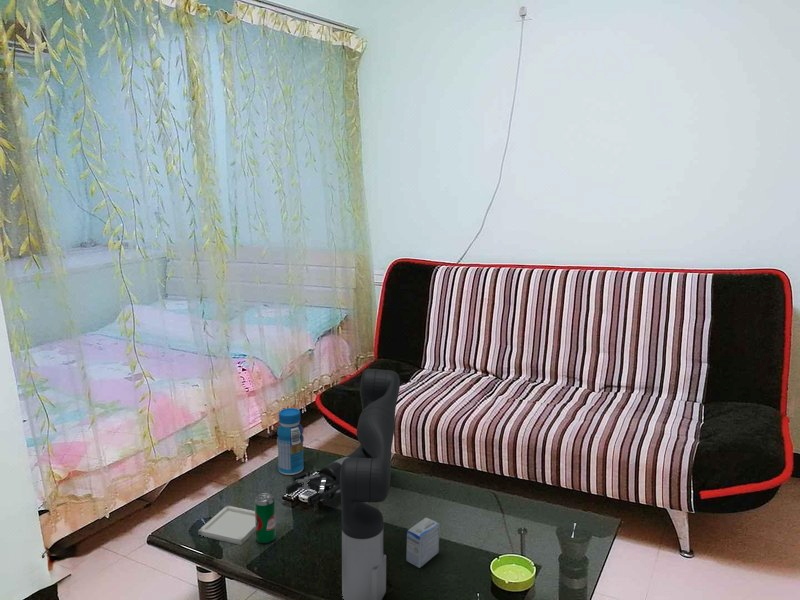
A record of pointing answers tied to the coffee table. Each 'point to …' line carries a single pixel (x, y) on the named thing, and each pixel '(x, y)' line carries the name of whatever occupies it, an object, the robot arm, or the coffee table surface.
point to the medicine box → (422, 542)
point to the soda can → (265, 518)
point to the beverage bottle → (290, 442)
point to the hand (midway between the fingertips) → (297, 496)
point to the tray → (230, 525)
